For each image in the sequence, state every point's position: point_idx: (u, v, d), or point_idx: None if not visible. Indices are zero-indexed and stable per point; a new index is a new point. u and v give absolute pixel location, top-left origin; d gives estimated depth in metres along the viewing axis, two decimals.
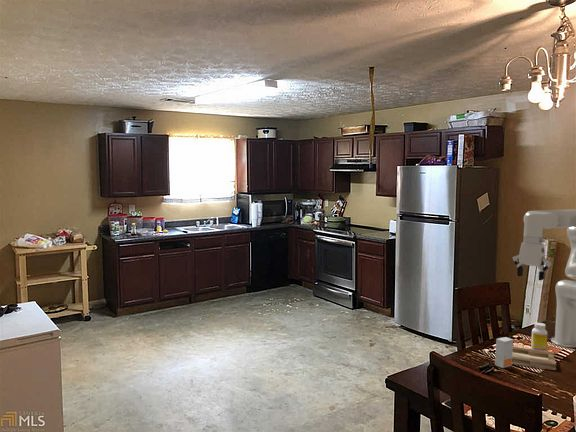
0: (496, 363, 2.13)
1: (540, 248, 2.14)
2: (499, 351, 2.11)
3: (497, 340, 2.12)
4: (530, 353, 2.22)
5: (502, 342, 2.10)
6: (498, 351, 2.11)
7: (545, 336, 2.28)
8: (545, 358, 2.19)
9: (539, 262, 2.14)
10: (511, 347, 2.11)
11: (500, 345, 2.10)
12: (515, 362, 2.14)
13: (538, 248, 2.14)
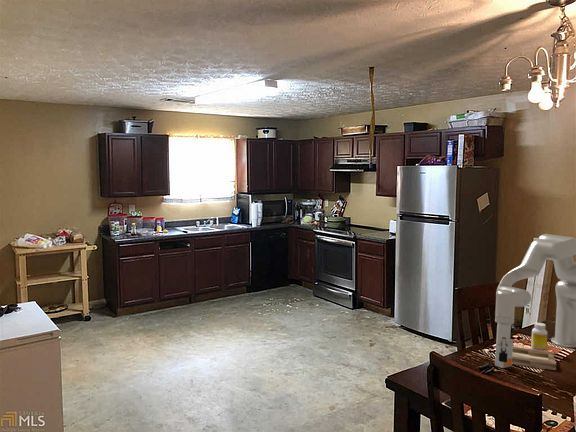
0: (496, 363, 2.13)
1: None
2: None
3: None
4: (530, 353, 2.22)
5: None
6: (498, 351, 2.11)
7: (545, 336, 2.28)
8: (545, 358, 2.19)
9: None
10: (511, 347, 2.11)
11: None
12: (515, 362, 2.14)
13: None
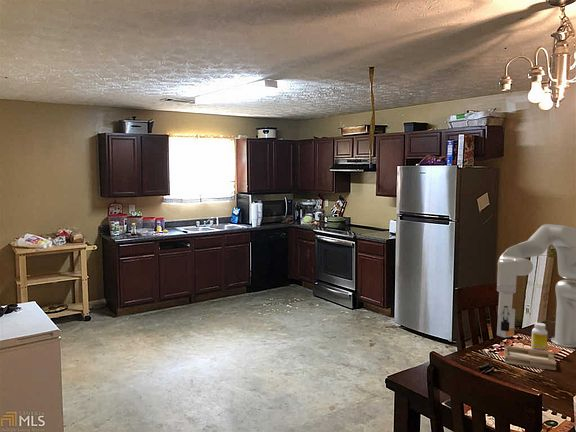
0: (498, 333, 2.11)
1: None
2: None
3: None
4: (530, 353, 2.22)
5: None
6: (500, 321, 2.10)
7: (545, 336, 2.28)
8: (545, 358, 2.19)
9: None
10: (513, 317, 2.10)
11: None
12: (515, 362, 2.14)
13: None
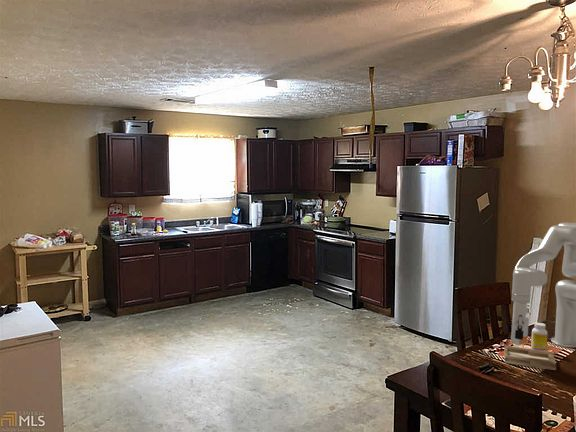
0: (512, 341, 2.20)
1: None
2: (515, 329, 2.18)
3: None
4: (530, 353, 2.22)
5: None
6: (514, 329, 2.19)
7: (545, 336, 2.28)
8: (545, 358, 2.19)
9: None
10: (526, 325, 2.19)
11: None
12: (515, 362, 2.14)
13: None
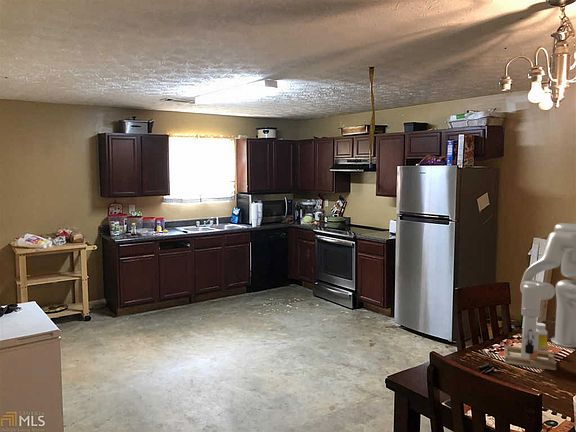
0: (522, 355, 2.19)
1: None
2: (525, 343, 2.18)
3: None
4: None
5: None
6: (524, 343, 2.18)
7: (545, 336, 2.28)
8: (545, 358, 2.19)
9: None
10: (537, 339, 2.18)
11: None
12: (515, 362, 2.14)
13: None
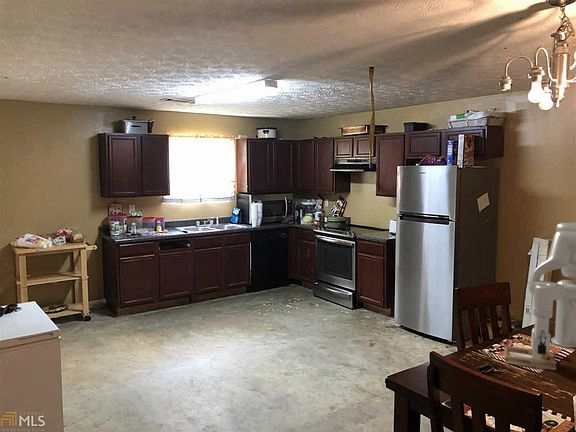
0: (533, 357, 2.17)
1: None
2: (537, 345, 2.16)
3: (534, 334, 2.16)
4: (530, 353, 2.22)
5: None
6: (536, 345, 2.16)
7: None
8: None
9: None
10: (548, 341, 2.16)
11: (538, 339, 2.15)
12: (515, 362, 2.14)
13: None
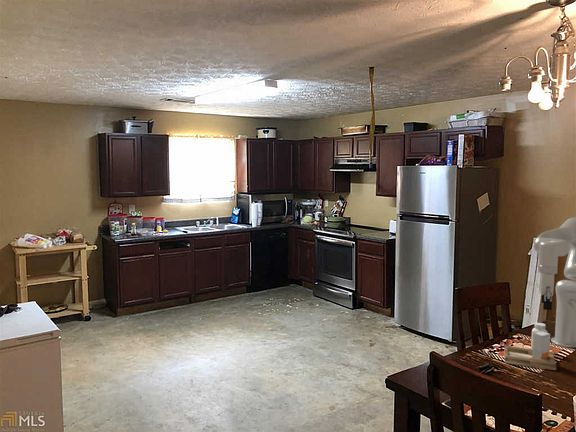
0: (533, 357, 2.17)
1: None
2: (537, 345, 2.16)
3: (534, 334, 2.16)
4: (530, 353, 2.22)
5: (539, 336, 2.14)
6: (536, 345, 2.16)
7: None
8: None
9: None
10: (548, 341, 2.16)
11: (538, 339, 2.15)
12: (515, 362, 2.14)
13: None
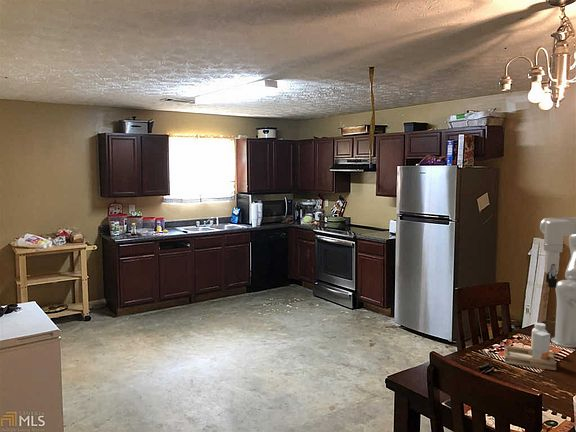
0: (533, 357, 2.17)
1: None
2: (537, 345, 2.16)
3: (534, 334, 2.16)
4: (530, 353, 2.22)
5: (539, 336, 2.14)
6: (536, 345, 2.16)
7: None
8: None
9: None
10: (548, 341, 2.16)
11: (538, 339, 2.15)
12: (515, 362, 2.14)
13: None
